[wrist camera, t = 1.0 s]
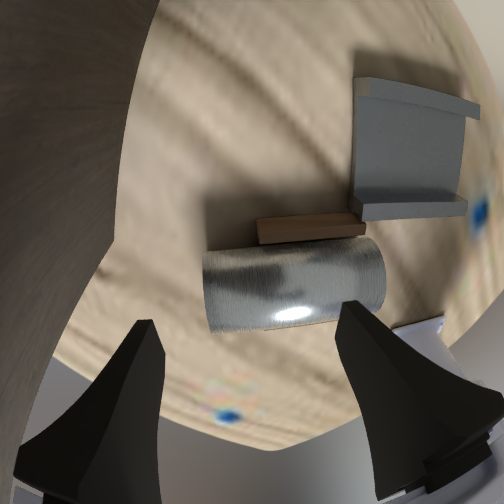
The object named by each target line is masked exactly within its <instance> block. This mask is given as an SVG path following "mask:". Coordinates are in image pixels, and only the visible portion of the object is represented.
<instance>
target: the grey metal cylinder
mask: <svg viewBox="0 0 504 504" xmlns="http://www.w3.org/2000/svg"><path fill="white" fill-rule="evenodd" d="M203 290H204V300H205V308H206V314H207V320H208V324H209V328H210V331H211V333H212V335H215V334H227V333H238V332H249V331H258V330H267V329H275V328H283V327H291V326H298V325H306V324H312V323H319V322H325V321H332V320H338V319H339V316H340V311H341V306H342V302H345V301H352V300H358V301H359V302H360V303H361V304H362V305H363V306H364V307H366V308H367V309H368V310H369V311H370V312H371V313H375V312H377V311H378V310H379V309H380V308H381V306H382V304H383V301H384V298H385V294H386V270H385V265H384V261H383V257H382V255H381V252H380V250H379V248H378V246H377V245H376V243H375V242H374V241H373V240H372V239H370V238H368V237H359V238H348V239H337V240H326V241H315V242H304V243H293V244H282V245H271V246H261V247H250V248H239V249H229V250H218V251H208V252H204V254H203Z"/></svg>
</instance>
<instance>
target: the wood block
mask: <svg viewBox="0 0 504 504" xmlns="http://www.w3.org/2000/svg"><path fill="white" fill-rule="evenodd" d="M158 3H159V0H0V504H9V501H10V493H11V488H12V482H13V477H14V476H13V471H14V466H15V461H16V457H17V453H18V449H19V446H21V442H22V439H23V435H24V431H25V428H26V425H27V421H28V418H29V415H30V412H31V409H32V406H33V403H34V400H35V397H36V395H37V392H38V389H39V387H40V384H41V382H42V379H43V376H44V374H45V371H46V369H47V366H48V364H49V361H50V359H51V357H52V355H53V353H54V350H55V348H56V346H57V344H58V341H59V339H60V337H61V335H62V333H63V331H64V329H65V327H66V325H67V323H68V321H69V319H70V317H71V315H72V313H73V311H74V309H75V307H76V305H77V303H78V301H79V299H80V297H81V295H82V294H83V292H84V290H85V288H86V286H87V285H88V283H89V281H90V279H91V277H92V276H93V274H94V272H95V271H96V269H97V267H98V265H99V264H100V262H101V260H102V259H103V257H104V256H105V254H106V252H107V251H108V249H109V247H110V246H111V244H112V243H113V241H114V225H115V208H116V195H117V184H118V174H119V165H120V158H121V150H122V143H123V137H124V131H125V125H126V119H127V114H128V109H129V104H130V99H131V94H132V90H133V86H134V81H135V77H136V73H137V69H138V65H139V62H140V58H141V55H142V51H143V48H144V44H145V41H146V38H147V35H148V31H149V28H150V25H151V22H152V19H153V17H154V14H155V11H156V8H157V6H158Z"/></svg>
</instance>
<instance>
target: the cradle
mask: <svg viewBox="0 0 504 504" xmlns="http://www.w3.org/2000/svg"><path fill="white" fill-rule="evenodd" d="M466 117H470V118H473V119H477V120H480V105H479V104H476V103H473V102H470V101H468V100H465V99H462V98H458V97H455V96H452V95H449V94H445V93H442V92H438V91H435V90H431V89H427V88H423V87H419V86H415V85H410V84H406V83H401V82H396V81H391V80H385V79H380V78H373V77H359V78H353V148H352V169H351V184H350V197H349V209H350V210H351V211H352V212H353V213H354V214H355V215H356V216H357V217H358V218H359V219H360V220H361V221H362V222H363V221H378V220H395V219H412V218H431V217H451V216H465V214H466V210H467V205H468V202H467V201H466V200H464V199H463V198H461V197H459V196H458V195H456V192H457V186H458V181H459V174H460V168H461V160H462V152H463V143H464V132H465V118H466Z"/></svg>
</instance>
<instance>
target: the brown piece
mask: <svg viewBox="0 0 504 504" xmlns="http://www.w3.org/2000/svg"><path fill="white" fill-rule="evenodd" d="M256 230H257V234H258V238H259V242H260V244H269V243H280V242H291V241H302V240H313V239H324V238H335V237H347V236H358V235H365V231H366V223H365V222H364V221H363V222H362V221H361V220H360V219H359V218H358V217H357V216H356V215H355V214H354V213H353V212H343V213H327V214H312V215H298V216H285V217H272V218H260V219H256ZM338 320H339V319H338ZM338 320H332V321H338ZM332 321H325V322H319V323H326V322H332ZM319 323H312V324H306V325H313V324H319ZM306 325H298V326H291V327H299V326H306ZM291 327H283V328H275V329H267V330H276V329H284V328H291ZM267 330H264V331H267Z"/></svg>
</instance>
